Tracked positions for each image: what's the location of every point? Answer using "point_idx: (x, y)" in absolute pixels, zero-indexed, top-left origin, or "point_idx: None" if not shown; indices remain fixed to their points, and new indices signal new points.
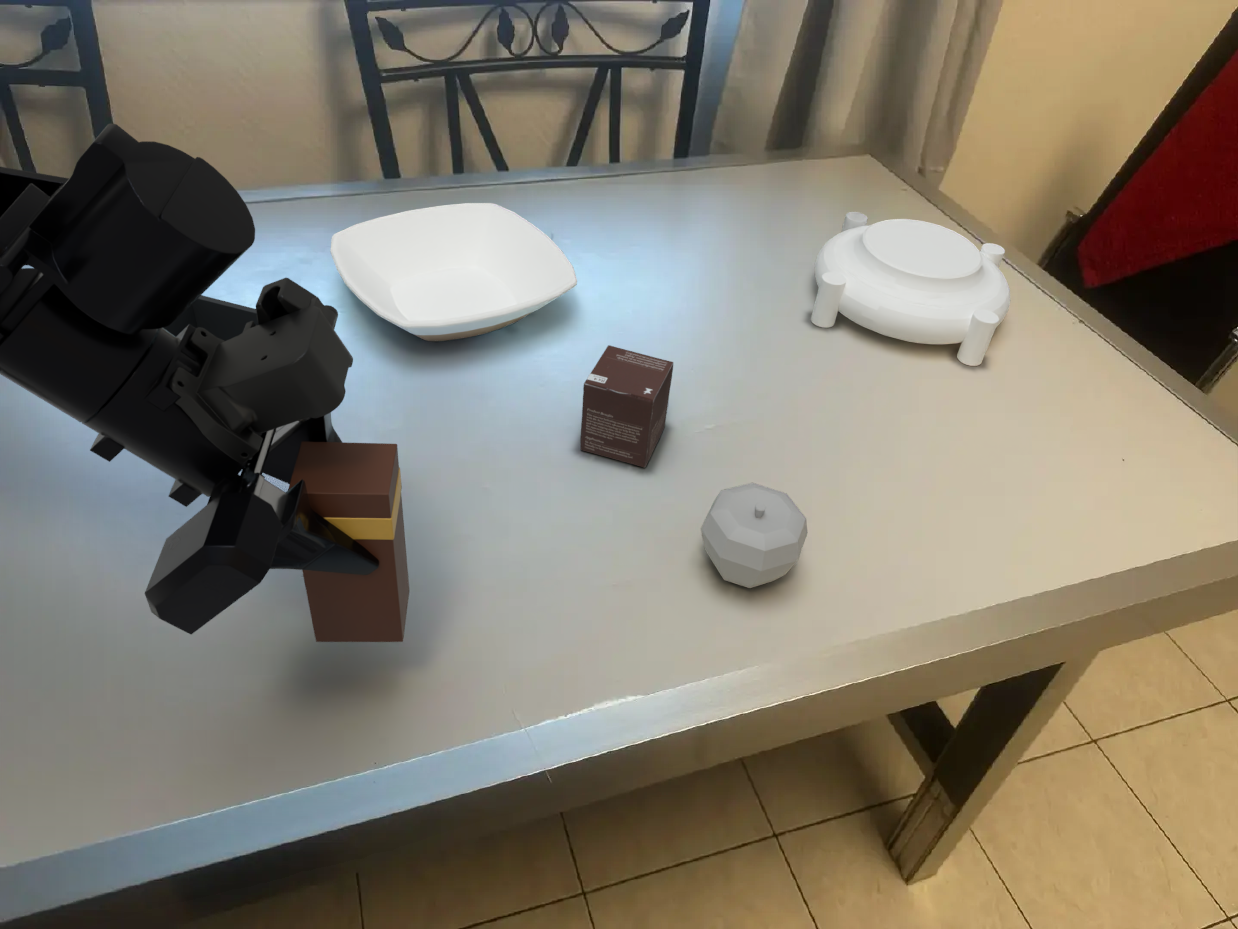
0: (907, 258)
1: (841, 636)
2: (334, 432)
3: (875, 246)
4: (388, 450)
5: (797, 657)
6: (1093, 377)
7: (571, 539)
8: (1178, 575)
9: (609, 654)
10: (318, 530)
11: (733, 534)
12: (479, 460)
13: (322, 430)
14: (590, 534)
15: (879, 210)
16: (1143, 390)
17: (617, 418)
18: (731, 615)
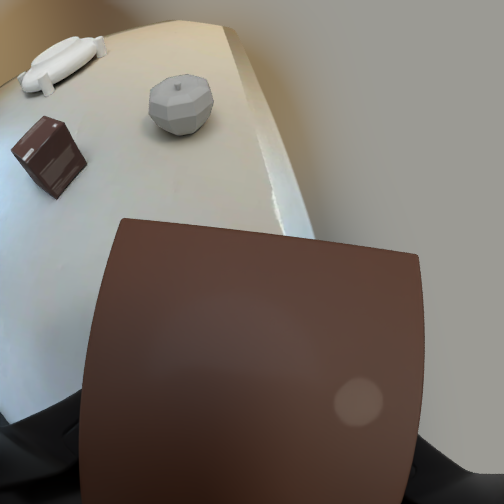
0: (56, 51)
1: (242, 102)
2: (22, 426)
3: (42, 60)
4: (154, 248)
5: (253, 118)
6: (133, 34)
7: (125, 213)
8: (233, 34)
9: (235, 203)
10: (431, 457)
11: (192, 97)
12: (39, 268)
13: (34, 490)
14: (125, 200)
15: (19, 83)
16: (147, 28)
17: (56, 156)
18: (217, 137)
